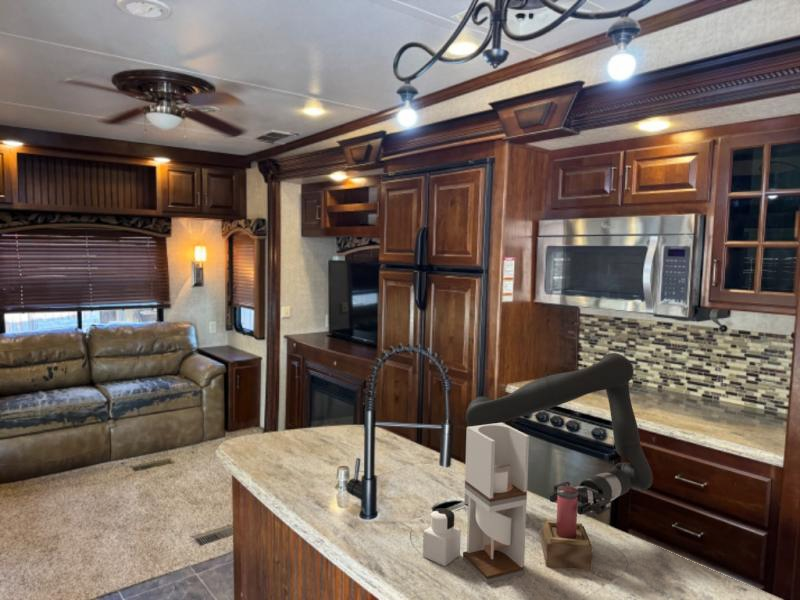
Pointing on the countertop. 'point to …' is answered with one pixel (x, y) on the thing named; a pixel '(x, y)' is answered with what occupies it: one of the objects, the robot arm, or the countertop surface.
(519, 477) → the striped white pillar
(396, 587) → the countertop surface
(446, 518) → the medicine bottle
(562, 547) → the wooden box
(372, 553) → the countertop surface
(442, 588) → the countertop surface
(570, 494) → the red lidded canister
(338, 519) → the countertop surface
